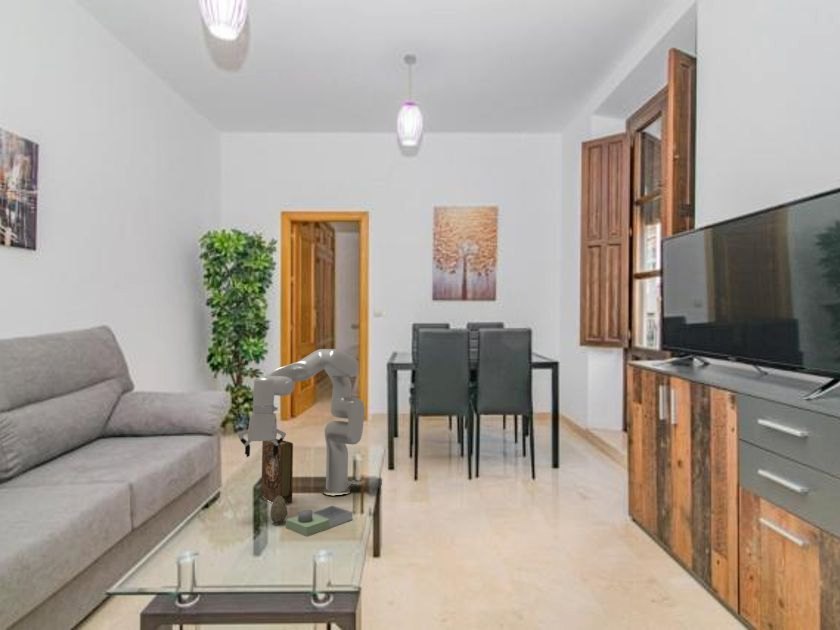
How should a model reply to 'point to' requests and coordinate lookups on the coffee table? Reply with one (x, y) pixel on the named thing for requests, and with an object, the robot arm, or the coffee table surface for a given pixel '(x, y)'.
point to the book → (277, 471)
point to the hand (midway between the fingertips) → (261, 456)
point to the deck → (307, 523)
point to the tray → (334, 515)
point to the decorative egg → (278, 510)
